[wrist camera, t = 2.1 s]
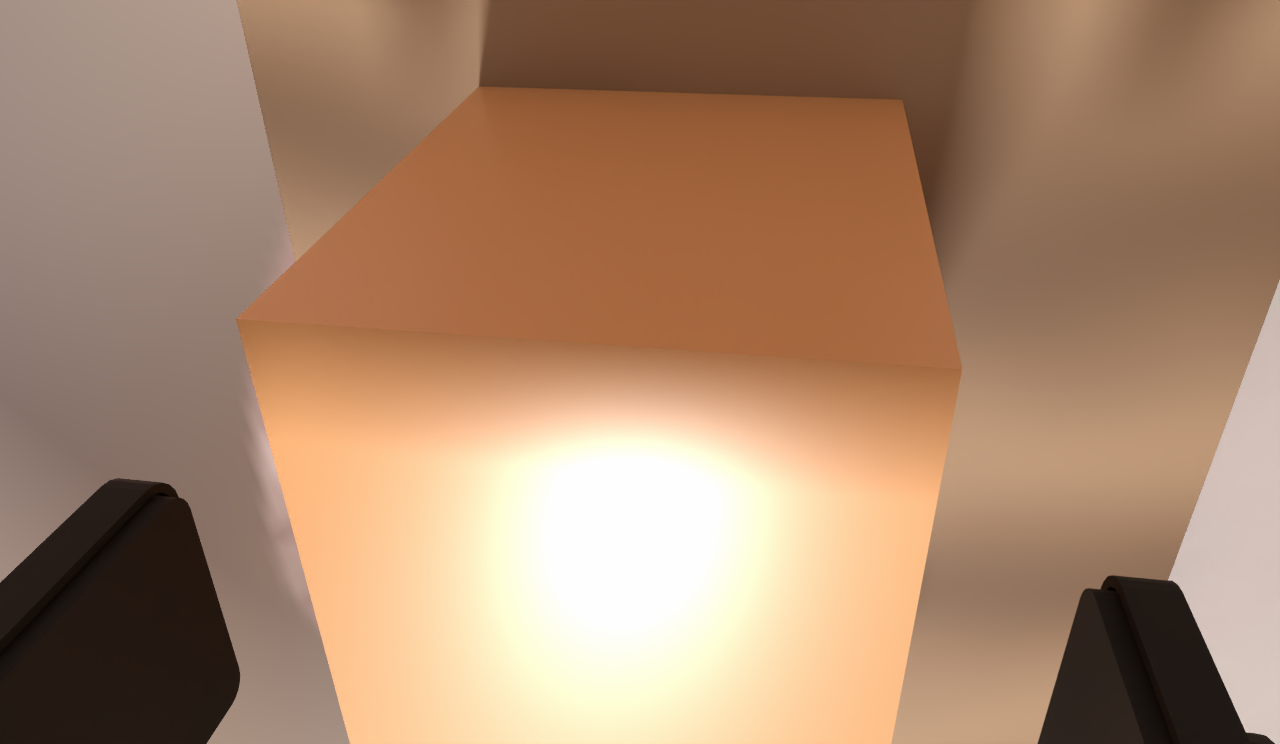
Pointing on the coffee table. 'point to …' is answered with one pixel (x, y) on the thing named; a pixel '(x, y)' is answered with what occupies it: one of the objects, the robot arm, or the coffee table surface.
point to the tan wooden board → (963, 236)
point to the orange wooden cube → (618, 422)
